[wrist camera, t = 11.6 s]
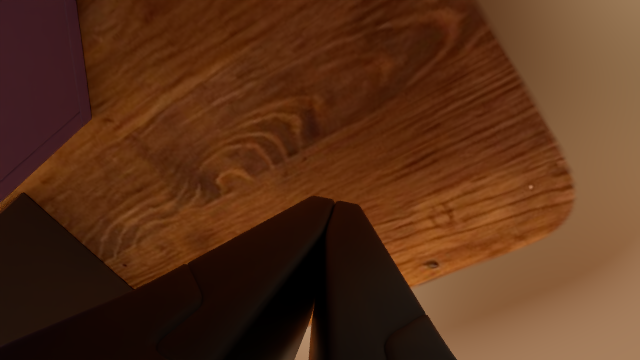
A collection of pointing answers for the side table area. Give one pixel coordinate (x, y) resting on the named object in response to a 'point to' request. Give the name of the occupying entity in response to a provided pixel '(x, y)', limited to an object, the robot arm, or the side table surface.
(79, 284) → the desk stand
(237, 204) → the side table surface
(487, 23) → the side table surface
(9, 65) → the file holder
